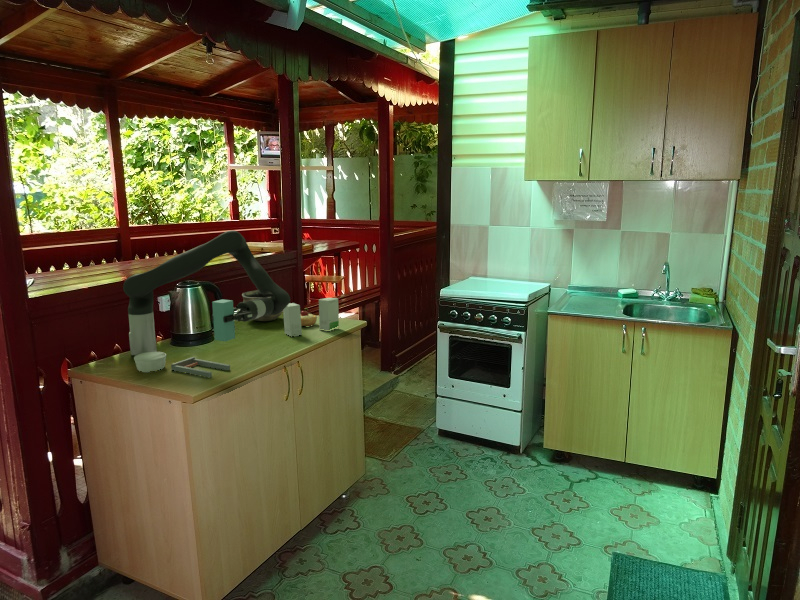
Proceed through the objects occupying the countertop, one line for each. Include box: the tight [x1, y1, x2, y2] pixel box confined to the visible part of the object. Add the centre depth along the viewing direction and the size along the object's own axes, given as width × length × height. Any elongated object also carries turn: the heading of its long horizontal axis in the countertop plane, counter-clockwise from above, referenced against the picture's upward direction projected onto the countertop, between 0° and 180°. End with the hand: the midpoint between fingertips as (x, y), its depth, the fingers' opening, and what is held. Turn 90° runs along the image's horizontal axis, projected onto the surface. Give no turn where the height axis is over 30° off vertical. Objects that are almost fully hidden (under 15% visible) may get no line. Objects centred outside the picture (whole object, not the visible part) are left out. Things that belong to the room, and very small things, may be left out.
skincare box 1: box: [282, 302, 303, 338], centre depth 250 cm, size 8×6×15 cm
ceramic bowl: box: [241, 289, 283, 322], centre depth 279 cm, size 22×22×15 cm
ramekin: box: [133, 351, 167, 373], centre depth 200 cm, size 11×11×5 cm
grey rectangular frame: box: [170, 356, 231, 379], centre depth 199 cm, size 19×10×2 cm, turn 64°
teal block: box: [211, 299, 236, 342], centre depth 189 cm, size 5×5×14 cm
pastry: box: [300, 307, 318, 327], centre depth 269 cm, size 12×12×9 cm
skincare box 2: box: [318, 297, 340, 330], centre depth 260 cm, size 8×7×16 cm
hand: (218, 318), depth 187 cm, fingers closed on teal block, 5 cm apart
